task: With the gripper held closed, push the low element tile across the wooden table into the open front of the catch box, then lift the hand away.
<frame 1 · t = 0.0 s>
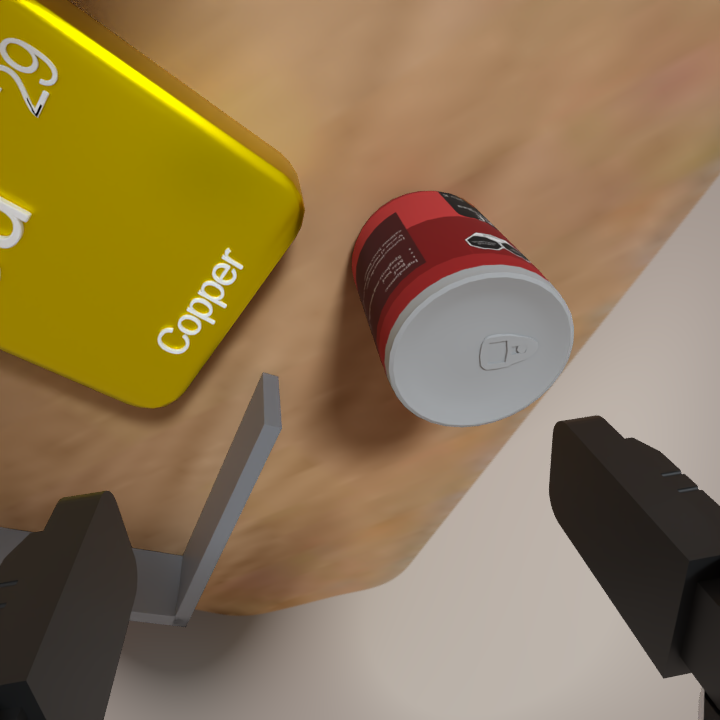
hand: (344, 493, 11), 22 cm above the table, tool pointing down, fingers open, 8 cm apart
canned food: (417, 251, 33), on the table
element tile: (110, 210, 29), on the table
catch box: (54, 428, 35), on the table
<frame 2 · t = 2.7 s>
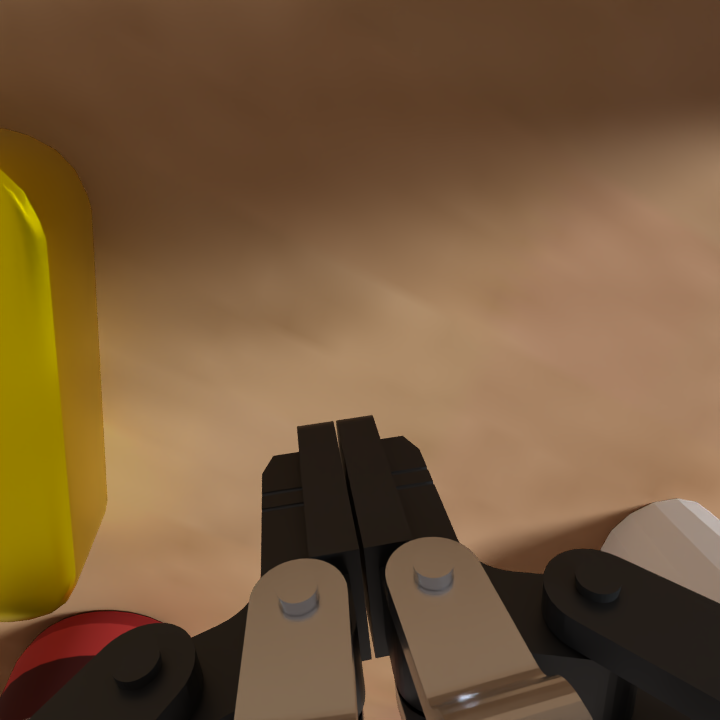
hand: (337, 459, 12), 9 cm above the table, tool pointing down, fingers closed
canned food: (117, 664, 26), on the table
white piece: (654, 544, 27), on the table
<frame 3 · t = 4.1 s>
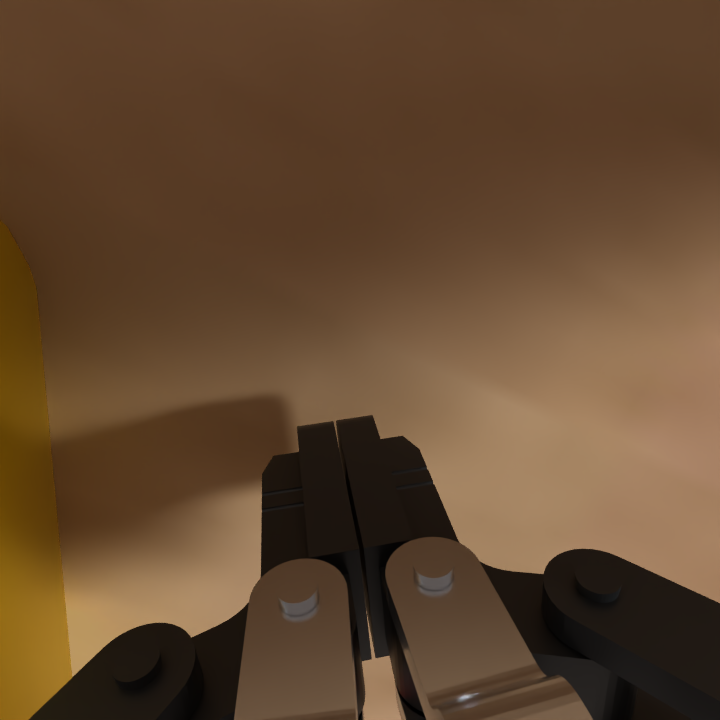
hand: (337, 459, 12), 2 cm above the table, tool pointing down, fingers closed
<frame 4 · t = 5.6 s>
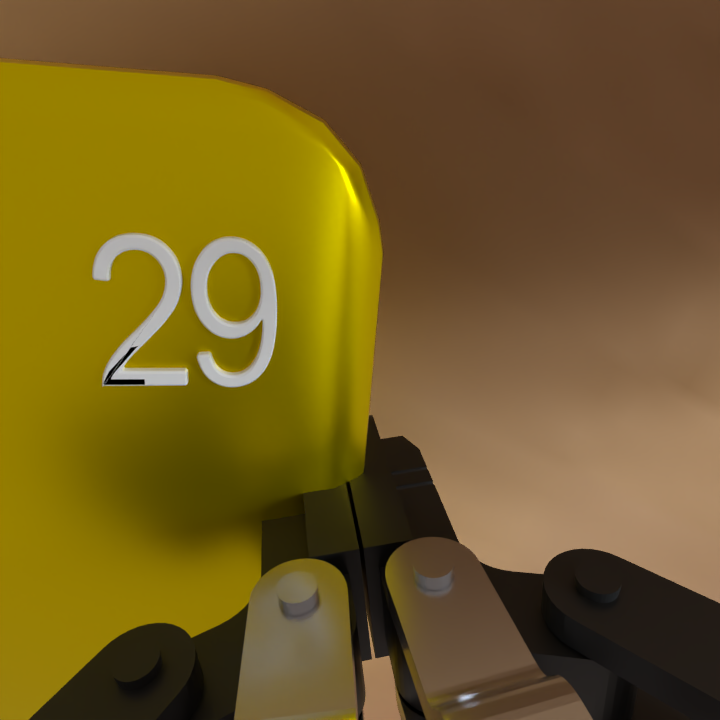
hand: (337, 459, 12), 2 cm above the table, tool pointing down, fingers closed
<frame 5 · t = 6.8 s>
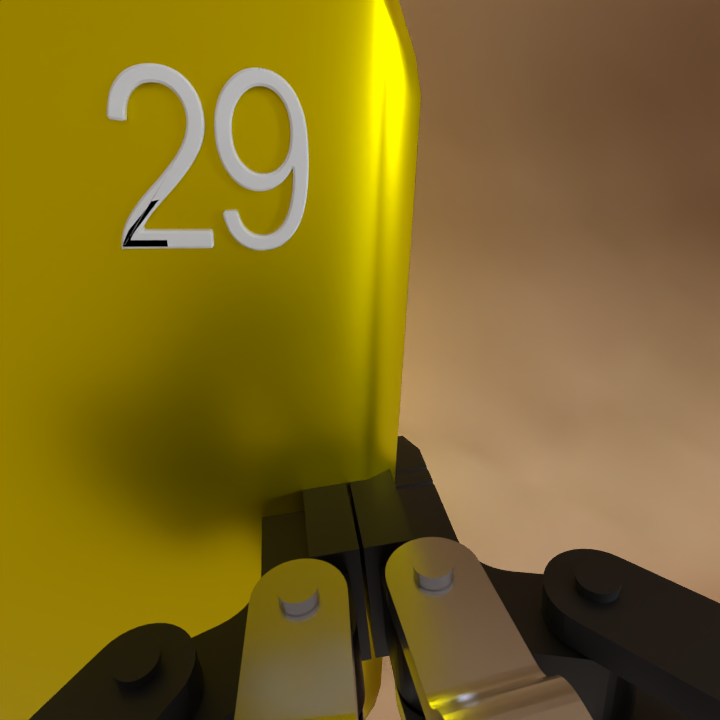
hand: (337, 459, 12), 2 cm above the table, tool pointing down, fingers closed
element tile: (6, 369, 12), on the table
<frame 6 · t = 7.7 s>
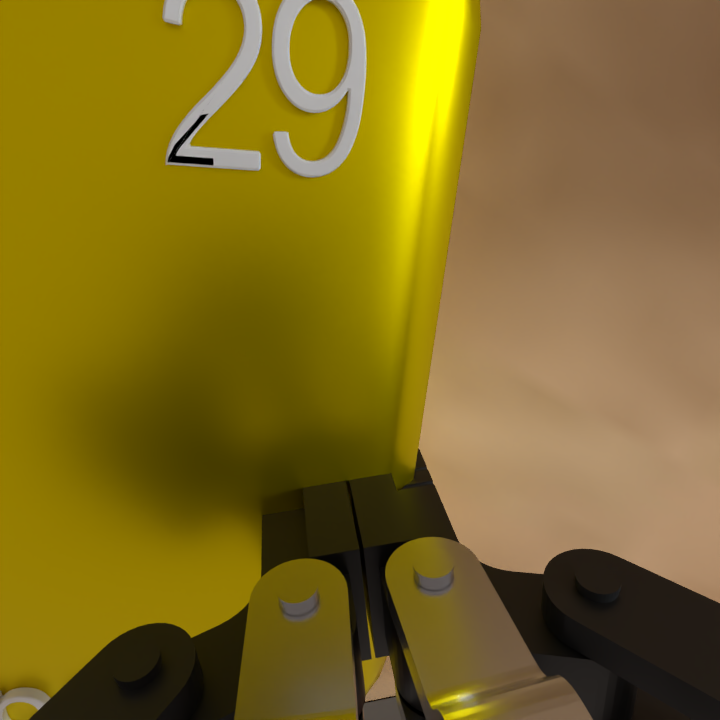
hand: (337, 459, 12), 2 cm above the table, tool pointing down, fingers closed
element tile: (14, 315, 12), on the table, touching catch box, gripper
catch box: (3, 453, 12), on the table
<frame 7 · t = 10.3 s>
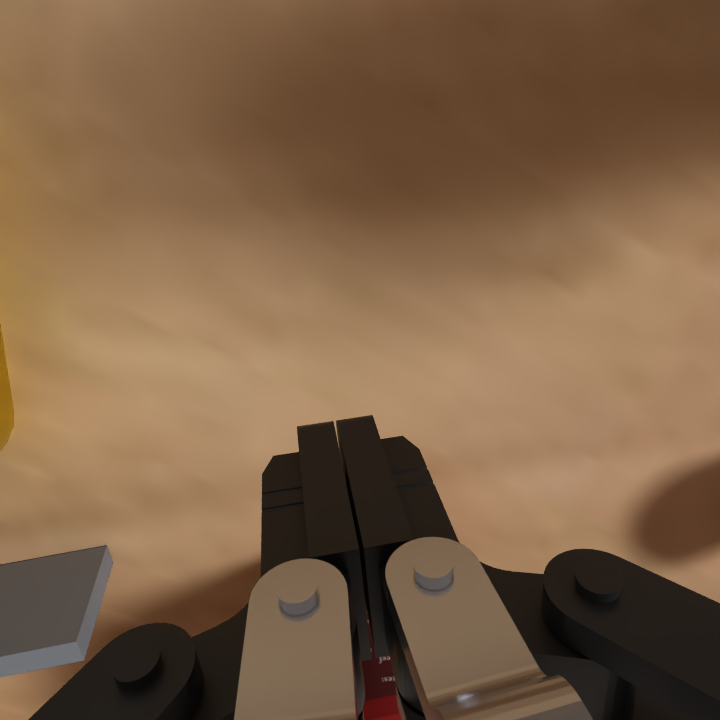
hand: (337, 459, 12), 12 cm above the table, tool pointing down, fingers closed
canned food: (351, 586, 29), on the table
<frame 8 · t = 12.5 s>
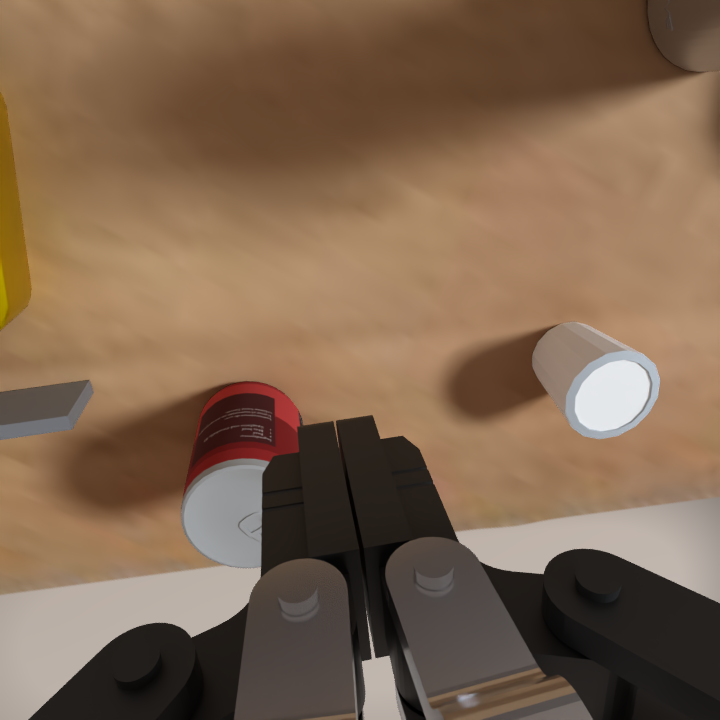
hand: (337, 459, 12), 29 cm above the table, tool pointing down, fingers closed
canned food: (252, 422, 44), on the table
white piece: (564, 353, 46), on the table
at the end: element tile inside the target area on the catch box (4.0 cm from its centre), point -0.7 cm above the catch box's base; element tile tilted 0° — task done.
